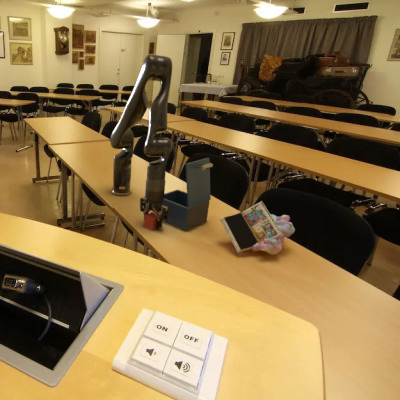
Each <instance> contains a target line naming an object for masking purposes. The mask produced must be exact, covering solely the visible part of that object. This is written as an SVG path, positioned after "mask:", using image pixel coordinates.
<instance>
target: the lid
mask: <svg viewBox="0 0 400 400" xmlns="http://www.w3.org/2000/svg"><path fill="white" fill-rule="evenodd" d="M213 167H214V164H213V163H212V162H210V157H205V158H201V159H197V160H195V161H191V162H188V163H185V179H186V180H185V181H186V193H187V203H188V208H191V207H193V206H196V205H198V204H201V203H204V202H206V201H211V169H212V168H213Z"/></svg>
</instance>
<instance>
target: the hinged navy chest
mask: <svg viewBox="0 0 400 400" xmlns="http://www.w3.org/2000/svg"><path fill="white" fill-rule="evenodd" d="M210 201H211V200H209V201H206V202H204V203H201V204H198V205H196V206H193V207H191V208H188V203H187V191H183V190H181V189H174V190H171V191H169V192H164V199H163V205H164V206H165V207H167V206H168V207H169V211H168V217H167V220H164V221H163V222H165V223H167V224H170V225H171V226H174V227H176V228H178V229H181V230H183V231H185V232H186V231H189V230H191V229H193V228H196V227H198V226H201V225H203V224H205V223H207V221H208V214H209V208H210ZM157 213H159V211H158V212H157Z"/></svg>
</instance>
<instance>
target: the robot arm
mask: <svg viewBox="0 0 400 400" xmlns="http://www.w3.org/2000/svg"><path fill="white" fill-rule="evenodd" d="M172 75H173V61H172V58H170V57H169V56H166V55H158V54H147V55H145V57H144V58H143V61H142V63H141V66H140V69H139V72H138V74H137V78H136V80H135V83H134V86H133V88H132V90H131V93H130V95H129V97H128V99H127V101H126V104H125V106H124V109H123V112H122V114H121V116H120V118H119V120H118V122H117V123H116V126H115V127H114V129H113V130H112V132H111V135H110V139H109V143H110V146H111V148H112V149H114V150H120V151H119V152H118V153H115V155H114V156H113V161H112V162H113V163H112V164H113V166H112V167H113V169H112V170H113V173H112V194H113V195H117V196H128V195H130V194H131V183H132V161H133V160H132V159H133V156H134V146H135V137H134V132H133V131H132V128H133V127H135V126H136V125H137V124H138V123H139V122H140V121H141V120H142V119H143V118H144V115H145V114H146V112H147V110H148V108H149V110H148V129H147V134H146V137H145V141H144V145H143V153H144V155H145V156H147V157H148V158H149V157H152V158H153V157H154V158H155V157H157V158H158V157H159V159H157V160H154V161H150V162H149V163H147V169H146V179H145V191H144V196H142V197H141V198H139V211H140V212H142V214H143V216H144V215H146V214H149V213H151V212H154V214H155V216H156V217H157V227H156V228H157V229H158V230H159V229H162V227H163V222H165V221H164V220H167V217H168V211H169V207H168V206H167V207H165V206H164V205H163V199H164V194H165V193H166V192H165V191H166V170H167V166H168V165H167V164H168V162H169V159H170V156H171V154H172V152H173V147H174V144H173V141H172V140H171V138H169V137H154V136H156V135H158V134H163V133H166V132H167V130H168V106H169V105H168V104H169V97H170V89H171V83H172ZM149 81H154V82H159V84H160V85H159V90H158V92H157V95H156V96H155V97H154V99H153V100H152V103H151V104H150V107H149V99H148V95H147V91H146V87H147V83H148V82H149ZM158 211H159V213H157V212H158ZM159 215H160V217H159Z"/></svg>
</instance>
